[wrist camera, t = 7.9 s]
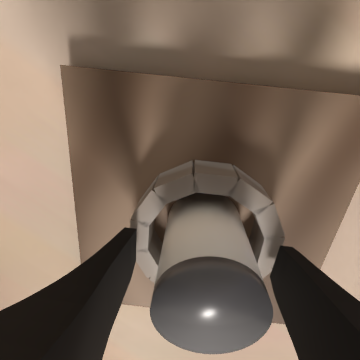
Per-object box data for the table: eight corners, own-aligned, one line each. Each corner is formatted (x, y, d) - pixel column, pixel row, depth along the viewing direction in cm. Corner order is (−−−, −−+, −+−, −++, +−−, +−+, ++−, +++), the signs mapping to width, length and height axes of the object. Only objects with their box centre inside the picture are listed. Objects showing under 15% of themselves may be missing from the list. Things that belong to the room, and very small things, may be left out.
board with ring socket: (376, 98, 11) (441, 101, 8) (288, 310, 17) (307, 355, 15) (73, 67, 12) (31, 59, 9) (91, 286, 18) (71, 325, 15)
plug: (246, 194, 13) (287, 276, 7) (233, 254, 14) (258, 359, 9) (169, 187, 13) (151, 262, 7) (165, 247, 14) (148, 347, 9)
